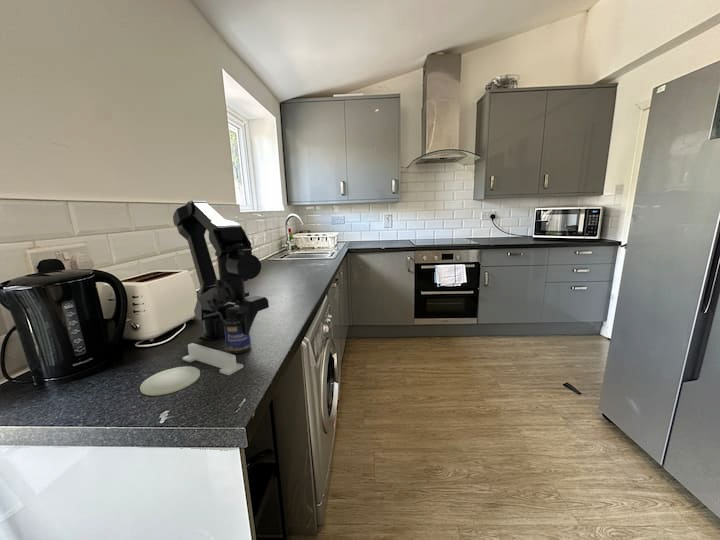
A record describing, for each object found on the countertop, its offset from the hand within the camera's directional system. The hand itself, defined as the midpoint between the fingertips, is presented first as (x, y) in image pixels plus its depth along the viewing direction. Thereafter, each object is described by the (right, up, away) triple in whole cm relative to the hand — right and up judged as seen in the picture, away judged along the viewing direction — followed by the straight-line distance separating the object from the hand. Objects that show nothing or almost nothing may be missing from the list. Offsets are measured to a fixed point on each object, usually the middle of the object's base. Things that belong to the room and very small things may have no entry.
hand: (237, 332), depth 78 cm
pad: (-9, -8, -13) cm, 18 cm away
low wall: (-4, -6, -6) cm, 9 cm away
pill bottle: (0, -5, +1) cm, 5 cm away
